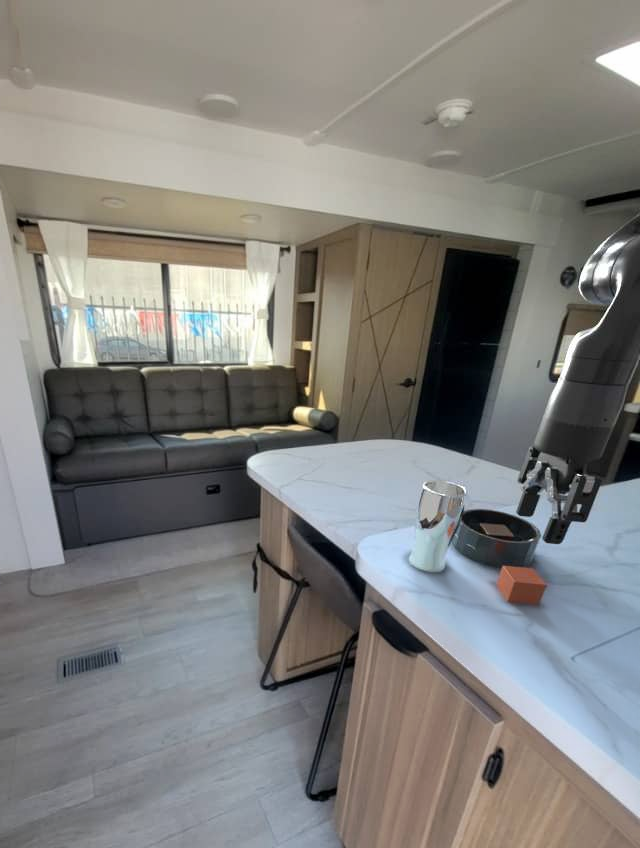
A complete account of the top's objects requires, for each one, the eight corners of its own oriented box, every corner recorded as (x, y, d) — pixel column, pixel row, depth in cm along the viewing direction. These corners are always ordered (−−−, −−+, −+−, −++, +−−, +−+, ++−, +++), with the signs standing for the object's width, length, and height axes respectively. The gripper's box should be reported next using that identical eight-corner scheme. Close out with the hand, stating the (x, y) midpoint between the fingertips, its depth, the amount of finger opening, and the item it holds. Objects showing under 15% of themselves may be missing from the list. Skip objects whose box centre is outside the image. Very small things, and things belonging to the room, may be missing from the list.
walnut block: (497, 545, 78) (504, 524, 76) (507, 558, 73) (515, 536, 72) (473, 543, 78) (479, 522, 76) (481, 555, 74) (488, 534, 72)
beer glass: (411, 551, 76) (428, 476, 69) (451, 564, 72) (472, 486, 66) (399, 568, 71) (416, 489, 64) (441, 582, 67) (464, 500, 60)
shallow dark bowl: (511, 538, 81) (520, 511, 78) (543, 576, 69) (556, 546, 67) (442, 532, 83) (449, 506, 80) (463, 568, 71) (471, 539, 68)
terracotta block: (524, 591, 65) (533, 568, 63) (537, 609, 61) (547, 585, 59) (494, 588, 66) (502, 565, 64) (505, 606, 62) (514, 582, 60)
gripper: (650, 433, 45) (593, 556, 52) (579, 408, 58) (540, 509, 65) (577, 429, 46) (531, 550, 53) (523, 405, 59) (491, 505, 66)
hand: (536, 528), depth 59 cm, fingers open, 8 cm apart
